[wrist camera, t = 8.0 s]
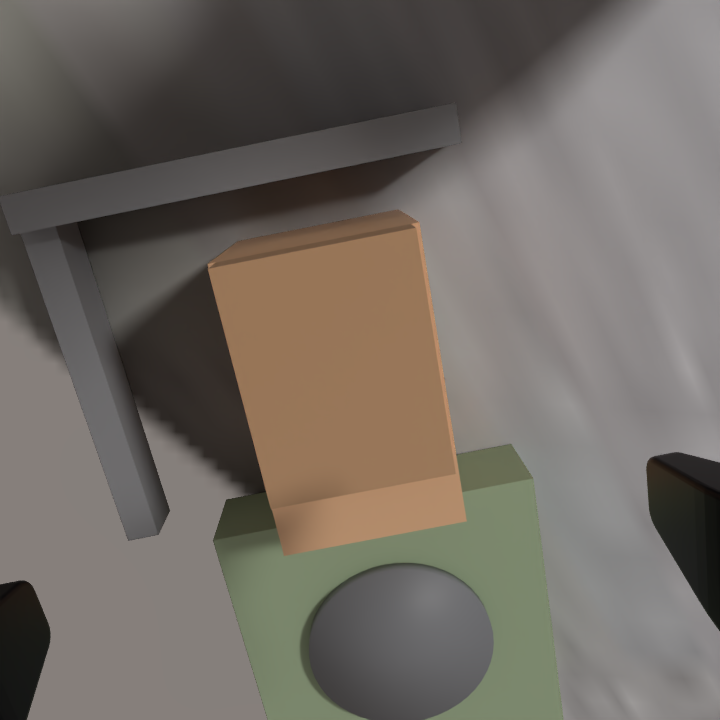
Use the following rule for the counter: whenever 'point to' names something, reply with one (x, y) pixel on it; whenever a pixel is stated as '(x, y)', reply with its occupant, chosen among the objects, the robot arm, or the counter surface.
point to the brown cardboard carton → (341, 379)
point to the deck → (255, 517)
